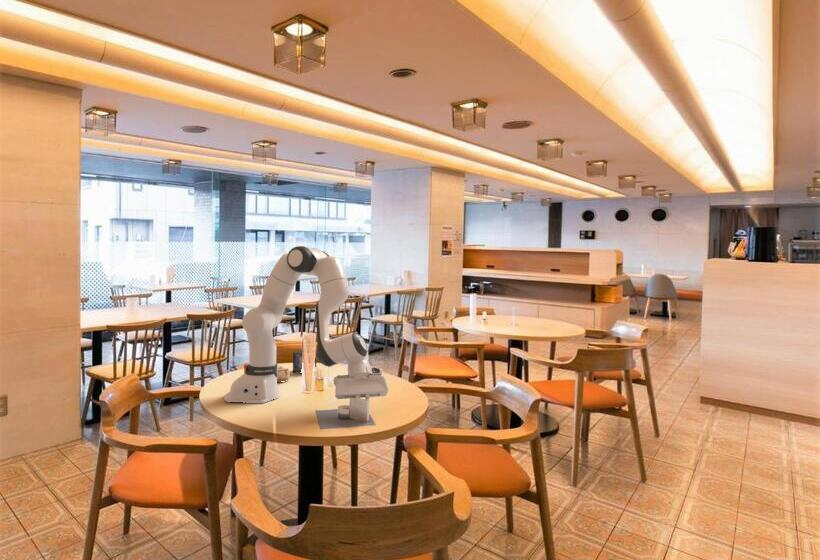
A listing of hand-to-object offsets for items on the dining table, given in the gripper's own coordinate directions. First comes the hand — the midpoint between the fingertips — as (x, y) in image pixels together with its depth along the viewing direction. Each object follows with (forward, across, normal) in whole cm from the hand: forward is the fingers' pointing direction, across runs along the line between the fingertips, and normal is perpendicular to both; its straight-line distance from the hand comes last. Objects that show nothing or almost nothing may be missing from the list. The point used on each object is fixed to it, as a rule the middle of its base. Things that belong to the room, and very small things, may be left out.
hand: (363, 407), depth 188 cm
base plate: (+2, -7, +6) cm, 9 cm away
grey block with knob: (+3, -4, +3) cm, 6 cm away
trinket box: (-39, -32, +50) cm, 71 cm away
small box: (-48, -16, +59) cm, 78 cm away
